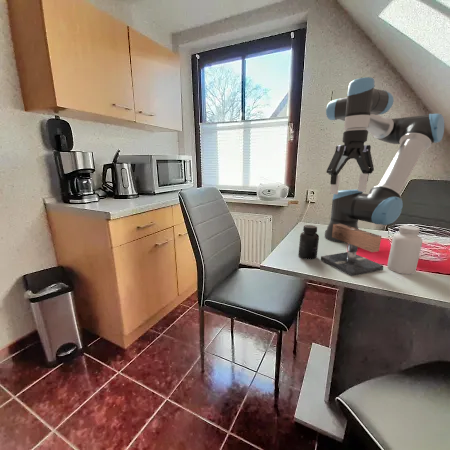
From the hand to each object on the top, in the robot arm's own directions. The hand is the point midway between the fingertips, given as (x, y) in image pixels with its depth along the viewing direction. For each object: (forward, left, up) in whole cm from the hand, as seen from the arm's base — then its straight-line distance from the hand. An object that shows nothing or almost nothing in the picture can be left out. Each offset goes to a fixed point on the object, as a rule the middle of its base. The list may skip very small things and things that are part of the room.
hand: (348, 192), depth 89 cm
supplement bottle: (+12, -4, -25) cm, 28 cm away
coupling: (+3, +8, -19) cm, 21 cm away
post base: (+3, +8, -25) cm, 26 cm away
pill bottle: (-10, +17, -25) cm, 32 cm away
